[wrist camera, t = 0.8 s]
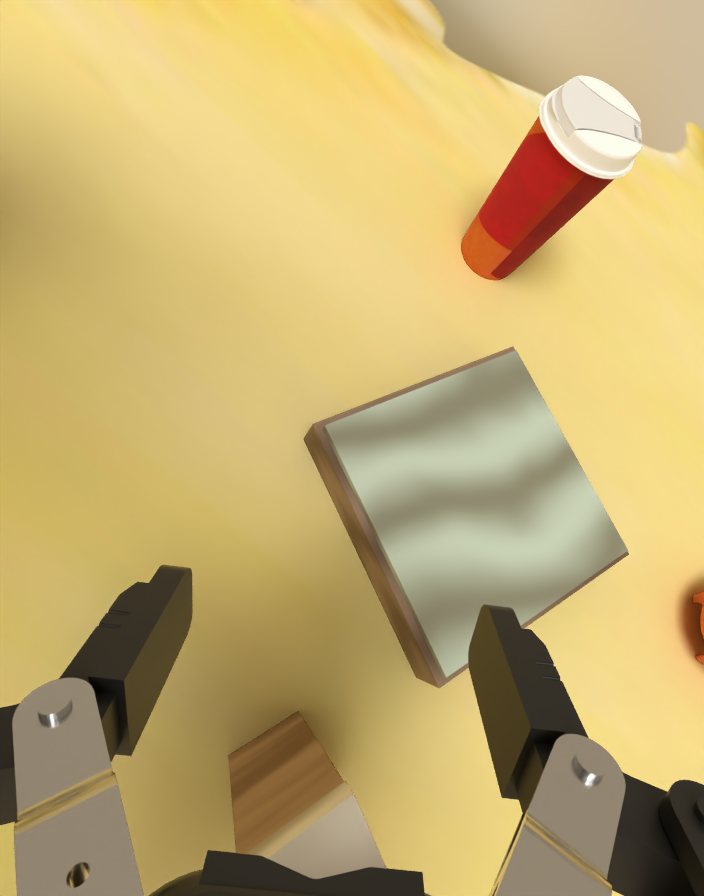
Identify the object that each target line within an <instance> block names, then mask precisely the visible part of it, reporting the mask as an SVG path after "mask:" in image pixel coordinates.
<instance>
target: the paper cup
mask: <svg viewBox="0 0 704 896" xmlns="http://www.w3.org/2000/svg"><path fill="white" fill-rule="evenodd" d="M640 123H641V121H640V119H639V116H638V115H637V113H636V111H635V110H634V108H633V107H632V106H631V104H630V103H629V102H628V101H627V100H626V99H625V98H624V97H623V96H622V95H621V94H620V93H619V92H618V91H617V90H615V89H614V88H613V87H611V86H610V85H608V84H606V83H605V82H603V81H600V80H598V79H596V78H592V77H588V76H576V77H574V78H572V79H570V80H569V81H567V82H566V83H565V84H564V85H562V86H561V87H559V88H557V89H555V90H553V91H552V92H550V93H549V94H548V95H547V96H546V97H545V99H544V100H543V101H542V102H541V103H540V106H539V116H538V118H537V120H536V121H535V123H534V124H533V126H532V128H531V129H530V131H529V132H528V134H527V136H526V137H525V139H524V140H523V142H522V144H521V145H520V147H519V148H518V150H517V152H516V153H515V155H514V156H513V158H512V160H511V161H510V163H509V164H508V166H507V168H506V169H505V171H504V172H503V174H502V176H501V177H500V179H499V180H498V182H497V184H496V185H495V187H494V188H493V190H492V192H491V193H490V195H489V196H488V198H487V200H486V201H485V203H484V204H483V206H482V208H481V209H480V211H479V213H478V214H477V216H476V217H475V219H474V221H473V222H472V224H471V226H470V227H469V229H468V231H467V233H466V234H465V236H464V238H463V241H462V245H461V250H462V255H463V257H464V260H465V261H466V263H467V265H468V266H469V267H470V268H471V269H472V270H473V271H474V272H475V273H477V274H478V275H480V276H481V277H484V278H486V279H490V280H499V279H503V278H505V277H506V276H508V275H509V274H510V273H511V272H513V271H514V270H515V269H516V268H517V267H518V266H520V265H521V264H522V263H523V262H524V261H525V260H526V259H527V258H529V257H530V256H531V255H532V254H533V253H534V252H535V251H536V250H537V249H538V248H540V247H541V246H542V245H543V244H544V243H545V242H546V241H547V240H548V239H549V238H551V237H552V236H553V235H554V234H555V233H556V232H557V231H558V230H559V229H560V228H561V227H563V226H564V225H565V224H566V223H567V222H568V221H569V220H570V219H571V218H572V217H573V216H575V215H576V214H577V213H578V212H579V211H580V210H581V209H582V208H583V207H584V206H585V205H586V204H588V203H589V202H590V201H591V200H592V199H593V198H594V197H595V196H596V195H597V194H598V193H600V192H601V191H602V190H603V189H604V188H605V187H606V186H607V185H608V184H609V183H610V182H612V181H613V180H614V179H617V178H620V177H622V176H624V175H626V174H627V173H628V172H629V171H630V170H631V168H632V166H633V163H634V161H635V157H636V156H637V154H638V153H639V152H640V150H641V148H642V145H641V144H640V142H642V131H641V127H640Z"/></svg>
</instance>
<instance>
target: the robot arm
mask: <svg viewBox="0 0 704 896" xmlns="http://www.w3.org/2000/svg"><path fill="white" fill-rule="evenodd" d="M191 619H192V571H191V569H190V568H185V567H177V566H169V565H162V566H160V567H159V569H158V570H157V572H156V573H155V575H154V576H153V578H152V579H151V581H150V582H149V583H143V582H137V583H135V584H134V585H132V586H131V587H130V588H128V589H127V590H125V591H124V592H123V593H121V594H120V595H119V596H118V598H117V599H116V601H115V602H114V603H113V605H112V606H111V607H110V609H109V612H108V613H106V614H105V616H104V617H103V619H102V620H101V621H100V623H99V626H97V627H96V628H95V630H94V631H93V633H92V634H91V635H90V637H89V638H88V639H87V641H86V642H85V644H84V645H83V646H82V648H81V649H80V651H79V652H78V653H77V655H76V656H75V658H74V659H73V660H72V662H71V663H70V665H69V666H68V667H67V669H66V670H65V671H64V673H63V674H62V676H61V677H60V678H59V679H57V680H54V681H51V682H48V683H46V684H44V685H42V686H40V687H38V688H37V689H35V690H34V691H32V692H31V693H30V694H29V695H28V696H26V697H25V699H24V700H23V701H22V702H21V703H19V704H16V705H12V706H8V707H2V708H0V825H2V824H7V823H11V822H15V824H14V845H15V865H16V885H17V896H144V894H143V890H142V885H141V881H140V877H139V873H138V868H137V864H136V860H135V855H134V851H133V847H132V843H131V838H130V834H129V830H128V825H127V821H126V817H125V813H124V808H123V804H122V800H121V795H120V791H119V787H118V783H117V779H116V776H115V773H113V771H112V767H111V761H112V759H113V757H114V755H115V754H118V755H127V756H131V755H132V753H133V751H134V749H135V746H136V744H137V742H138V740H139V738H140V736H141V733H142V731H143V729H144V727H145V725H146V723H147V721H148V718H149V716H150V714H151V712H152V710H153V708H154V706H155V703H156V701H157V699H158V697H159V695H160V693H161V690H162V688H163V686H164V684H165V682H166V680H167V678H168V675H169V673H170V671H171V669H172V667H173V665H174V662H175V660H176V658H177V656H178V654H179V652H180V650H181V647H182V645H183V643H184V641H185V639H186V637H187V634H188V631H189V628H190V624H191ZM468 664H469V671H470V675H471V678H472V682H473V686H474V690H475V694H476V698H477V702H478V706H479V710H480V714H481V718H482V722H483V726H484V730H485V733H486V737H487V741H488V745H489V749H490V753H491V757H492V761H493V765H494V769H495V773H496V777H497V781H498V785H499V788H500V792H501V796H502V798H509V799H518V800H519V802H520V805H521V809H522V812H523V814H522V816H521V818H520V820H519V823H518V825H517V828H516V830H515V833H514V835H513V838H512V840H511V842H510V845H509V847H508V850H507V852H506V855H505V857H504V860H503V862H502V865H501V867H500V870H499V872H498V874H497V877H496V879H495V882H494V884H493V887H492V889H491V892H490V894H489V896H611V895H612V890H613V891H615V892H618V893H620V894H622V895H624V896H704V785H702V784H700V783H697V782H694V781H690V780H679V781H677V782H675V783H674V784H673V785H672V786H671V788H670V789H669V791H668V792H667V791H664V790H662V789H659V788H657V787H655V786H652V785H650V784H647V783H645V782H643V781H640V780H638V779H636V778H633V777H631V776H629V775H627V774H625V773H623V772H622V771H621V769H620V767H619V765H618V764H617V762H616V761H615V760H614V758H613V757H612V756H611V755H610V754H609V753H608V752H607V751H606V750H605V749H604V748H603V747H602V746H600V745H599V744H597V743H596V742H594V741H593V740H591V739H589V738H588V736H587V734H586V732H585V729H584V727H583V725H582V723H581V721H580V719H579V717H578V714H577V712H576V710H575V708H574V706H573V704H572V702H571V699H570V697H569V695H568V693H567V691H566V689H565V687H564V684H563V682H562V681H560V676H559V674H558V671H557V669H556V667H554V665H553V664H554V663H553V661H552V659H551V656H550V654H549V652H548V650H547V648H546V646H545V645H544V643H543V642H542V641H541V640H540V639H539V638H538V637H537V636H536V635H535V634H534V632H533V631H532V630H530V629H522V628H521V626H520V623H519V621H518V619H517V616H516V614H515V612H514V610H513V609H512V608H510V607H503V606H494V605H486V604H484V605H483V606H482V607H481V609H480V612H479V616H478V619H477V622H476V625H475V629H474V632H473V635H472V638H471V642H470V645H469V651H468ZM149 896H431V895H428V894H426V893H424V884H423V874H422V872H415V871H406V870H396V869H386V868H376V867H367V868H363V869H359V870H355V871H350V872H346V873H342V874H337V875H333V876H329V877H324V878H320V879H312V878H309V877H307V876H305V875H303V874H300V873H298V872H296V871H294V870H292V869H289V868H287V867H285V866H283V865H281V864H278V863H276V862H274V861H272V860H270V859H267V858H265V857H263V856H260V855H250V854H240V853H230V852H221V851H211V850H208V852H207V856H206V859H205V863H204V867H203V870H198V871H194V872H191V873H188V874H186V875H183V876H180V877H178V878H176V879H174V880H172V881H170V882H169V883H167V884H165V885H163V886H162V887H160V888H159V889H157V890H156V891H154V892H153V893H152V894H150V895H149Z"/></svg>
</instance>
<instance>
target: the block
mask: <svg viewBox="0 0 704 896" xmlns="http://www.w3.org/2000/svg"><path fill="white" fill-rule="evenodd" d="M229 768H230V780H231V793H232V806H233V818H234V831H235V844H236V853H240V854H250V855H260V856H263V857H265V858H267V859H270V860H272V861H274V862H276V863H278V864H281V865H283V866H285V867H287V868H289V869H292V870H294V871H296V872H298V873H300V874H303V875H305V876H307V877H309V878H312V879H320V878H324V877H329V876H333V875H337V874H342V873H346V872H350V871H355V870H359V869H363V868H367V867H376V868H386V866H385V864H384V861H383V859H382V857H381V855H380V852H379V850H378V848H377V846H376V843H375V841H374V839H373V836H372V834H371V832H370V830H369V827H368V825H367V823H366V820H365V818H364V816H363V814H362V811H361V809H360V807H359V804H358V802H357V800H356V798H355V795H354V793H353V792H352V790H351V789H350V787H349V786H348V784H347V783H346V781H343V779H342V778H341V776H340V775H339V773H338V772H337V770H336V769H335V767H334V765H333V764H332V762H331V761H330V759H329V758H328V756H327V755H326V753H325V752H324V750H323V748H322V747H321V745H320V744H319V742H318V741H317V739H316V738H315V736H314V735H313V733H312V732H311V730H310V728H309V727H308V725H307V724H306V722H305V721H304V719H303V718H302V716H301V715H300V713H299V711H298V712H296V713H295V714H293V715H291V716H290V717H288V718H287V719H285V720H284V721H282V722H280V723H279V724H277V725H276V726H274V727H273V728H271V729H270V730H268V731H266V732H265V733H263V734H262V735H260V736H259V737H257V738H255V739H254V740H252V741H251V742H249V743H248V744H246V745H244V746H243V747H241V748H240V749H238V750H237V751H235V752H233V753H232V754H230V755H229ZM386 869H387V868H386Z"/></svg>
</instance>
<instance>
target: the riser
mask: <svg viewBox="0 0 704 896" xmlns="http://www.w3.org/2000/svg"><path fill="white" fill-rule="evenodd" d="M304 441H305V443H306V445H307V447H308V450H309V452H310V454H311V456H312V458H313V460H314V462H315V464H316V466H317V469H318V471H319V473H320V475H321V477H322V479H323V481H324V483H325V485H326V488H327V490H328V492H329V494H330V496H331V498H332V500H333V502H334V504H335V507H336V509H337V511H338V513H339V515H340V517H341V519H342V521H343V524H344V526H345V528H346V530H347V532H348V534H349V536H350V538H351V540H352V543H353V545H354V547H355V549H356V551H357V553H358V555H359V557H360V559H361V562H362V564H363V566H364V568H365V570H366V572H367V574H368V576H369V578H370V581H371V583H372V585H373V587H374V589H375V591H376V593H377V595H378V597H379V600H380V602H381V604H382V606H383V608H384V610H385V612H386V614H387V617H388V619H389V621H390V623H391V625H392V627H393V629H394V631H395V633H396V636H397V638H398V640H399V642H400V644H401V646H402V648H403V650H404V652H405V655H406V657H407V659H408V661H409V663H410V665H411V667H412V669H413V671H414V674H415V676H416V677H417V678H419V679H421V680H423V681H425V682H427V683H429V684H431V685H433V686H436V687H438V688H440V687H442V686H443V685H445V684H446V683H447V682H449V681H450V680H452V679H453V678H454V677H456V676H457V675H459V674H460V673H462V672H463V671H464V670H466V669H467V668H469V664H468V651H469V645H470V642H471V638H472V635H473V632H474V629H475V625H476V622H477V619H478V616H479V612H480V609H481V607H482V606H483V605H484V604H486V605H494V606H503V607H510V608H512V609H513V610H514V612H515V614H516V616H517V619H518V621H519V623H520V626H521V628H522V629H524V628H525V627H527V626H528V625H529V624H531V623H532V622H534V621H535V620H537V619H538V618H539V617H541V616H542V615H544V614H545V613H546V612H548V611H549V610H551V609H552V608H554V607H555V606H556V605H558V604H559V603H561V602H562V601H563V600H565V599H566V598H568V597H569V596H571V595H572V594H573V593H575V592H576V591H578V590H579V589H580V588H582V587H583V586H585V585H586V584H588V583H589V582H590V581H592V580H593V579H595V578H596V577H597V576H599V575H600V574H602V573H603V572H605V571H606V570H607V569H609V568H610V567H612V566H613V565H614V564H616V563H617V562H619V561H620V560H622V559H623V558H624V557H626V556H627V555H629V553H628V549H627V548H626V546H625V544H624V542H623V541H622V539H621V537H620V535H619V533H618V532H617V530H616V528H615V526H614V524H613V523H612V521H611V519H610V517H609V515H608V514H607V512H606V510H605V508H604V506H603V505H602V503H601V501H600V499H599V498H598V496H597V494H596V492H595V490H594V489H593V487H592V485H591V483H590V481H589V480H588V478H587V476H586V474H585V472H584V471H583V469H582V467H581V465H580V464H579V462H578V460H577V458H576V456H575V455H574V453H573V451H572V449H571V447H570V446H569V444H568V442H567V440H566V438H565V437H564V435H563V433H562V431H561V429H560V428H559V426H558V424H557V422H556V421H555V419H554V417H553V415H552V413H551V412H550V410H549V408H548V406H547V404H546V403H545V401H544V399H543V397H542V395H541V394H540V392H539V390H538V388H537V386H536V385H535V383H534V381H533V379H532V378H531V376H530V374H529V372H528V370H527V369H526V367H525V365H524V363H523V361H522V360H521V358H520V356H519V354H518V352H517V351H516V350H515V349H514V347H510V348H508V349H505V350H503V351H500V352H498V353H495V354H492V355H490V356H487V357H485V358H482V359H480V360H477V361H474V362H472V363H469V364H467V365H464V366H461V367H459V368H456V369H454V370H451V371H449V372H446V373H443V374H441V375H438V376H436V377H433V378H431V379H428V380H425V381H423V382H420V383H418V384H415V385H413V386H410V387H407V388H405V389H402V390H400V391H397V392H394V393H392V394H389V395H387V396H384V397H382V398H379V399H376V400H374V401H371V402H369V403H366V404H364V405H361V406H358V407H356V408H353V409H351V410H348V411H346V412H343V413H340V414H338V415H335V416H333V417H330V418H327V419H325V420H322V421H320V422H317V423H315V424H313V425H312V426H311V428H310V430H309V431H308V433H307V435H306V436H305V438H304Z"/></svg>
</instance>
